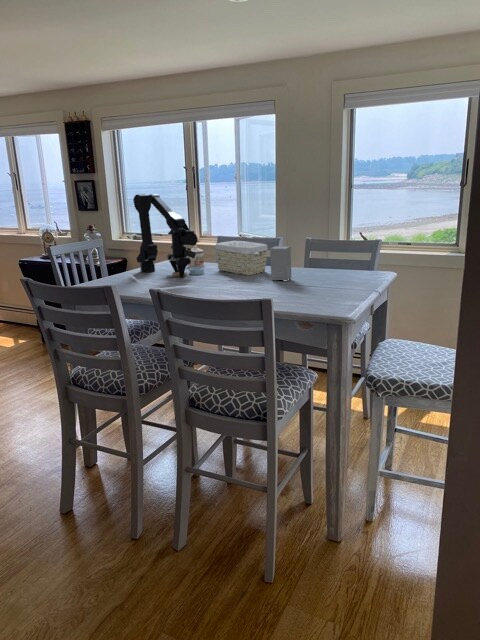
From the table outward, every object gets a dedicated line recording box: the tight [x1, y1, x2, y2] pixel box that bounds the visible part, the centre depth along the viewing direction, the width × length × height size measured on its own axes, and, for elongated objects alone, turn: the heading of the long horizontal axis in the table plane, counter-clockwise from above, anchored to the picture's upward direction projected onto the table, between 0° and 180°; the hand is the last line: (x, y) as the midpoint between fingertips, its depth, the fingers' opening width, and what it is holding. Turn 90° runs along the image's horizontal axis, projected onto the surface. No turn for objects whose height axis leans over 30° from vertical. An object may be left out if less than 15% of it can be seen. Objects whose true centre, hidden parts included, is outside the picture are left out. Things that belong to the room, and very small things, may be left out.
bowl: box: [188, 267, 205, 276], centre depth 237 cm, size 7×7×4 cm
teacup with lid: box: [187, 245, 206, 269], centre depth 260 cm, size 12×9×12 cm
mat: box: [166, 273, 193, 280], centre depth 231 cm, size 10×10×1 cm
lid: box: [171, 271, 188, 279], centre depth 231 cm, size 7×7×2 cm
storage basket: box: [215, 240, 269, 276], centre depth 244 cm, size 24×16×15 cm
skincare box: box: [269, 245, 292, 280], centre depth 221 cm, size 8×7×16 cm
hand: (179, 276), depth 231 cm, fingers closed on lid, 7 cm apart
